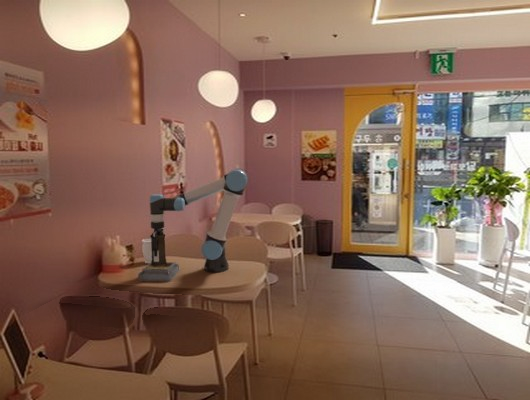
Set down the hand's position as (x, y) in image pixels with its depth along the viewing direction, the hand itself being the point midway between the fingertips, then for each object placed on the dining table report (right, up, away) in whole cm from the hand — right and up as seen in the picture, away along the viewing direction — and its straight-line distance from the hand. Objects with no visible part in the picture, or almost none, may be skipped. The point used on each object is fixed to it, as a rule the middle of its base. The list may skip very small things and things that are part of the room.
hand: (158, 259), depth 239 cm
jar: (-13, -6, +31) cm, 34 cm away
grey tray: (0, -10, +1) cm, 10 cm away
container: (0, -3, 0) cm, 3 cm away
